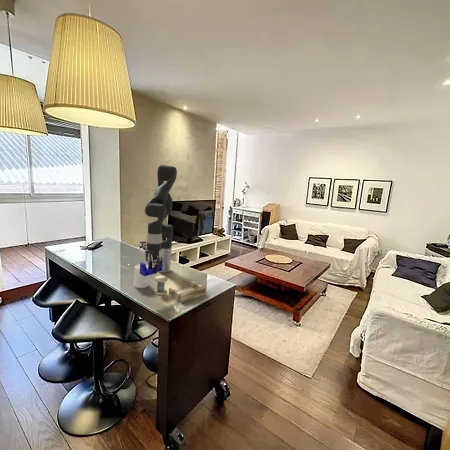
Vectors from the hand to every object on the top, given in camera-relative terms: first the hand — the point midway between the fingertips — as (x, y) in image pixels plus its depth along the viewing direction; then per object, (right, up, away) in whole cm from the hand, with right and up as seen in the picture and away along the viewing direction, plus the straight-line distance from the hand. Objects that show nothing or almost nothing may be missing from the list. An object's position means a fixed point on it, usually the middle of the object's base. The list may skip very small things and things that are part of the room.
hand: (152, 271), depth 135 cm
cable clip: (0, -1, 0) cm, 1 cm away
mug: (-11, -12, +16) cm, 22 cm away
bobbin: (+2, -14, +10) cm, 17 cm away
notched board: (+17, -15, +11) cm, 25 cm away
